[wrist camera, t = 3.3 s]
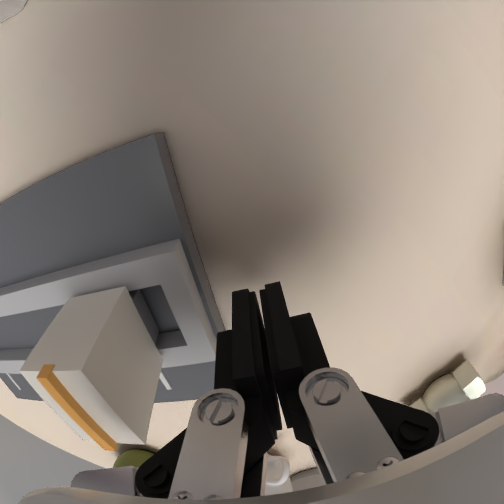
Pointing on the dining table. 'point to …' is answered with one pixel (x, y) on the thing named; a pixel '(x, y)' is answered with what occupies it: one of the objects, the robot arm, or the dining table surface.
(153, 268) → the console
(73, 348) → the fader
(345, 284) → the dining table surface
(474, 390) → the valve
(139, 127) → the dining table surface
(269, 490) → the teacup
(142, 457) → the pear
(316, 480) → the energy drink can
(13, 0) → the perfume bottle
